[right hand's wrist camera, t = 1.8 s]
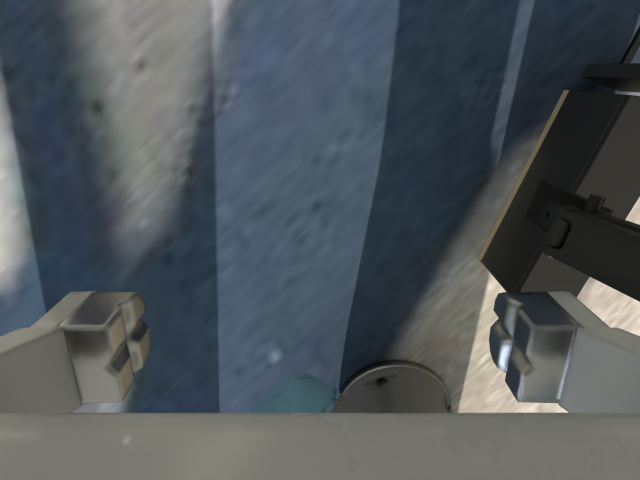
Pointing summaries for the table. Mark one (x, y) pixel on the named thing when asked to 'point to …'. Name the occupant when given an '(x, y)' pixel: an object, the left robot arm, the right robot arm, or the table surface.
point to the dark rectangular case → (567, 185)
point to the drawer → (619, 71)
